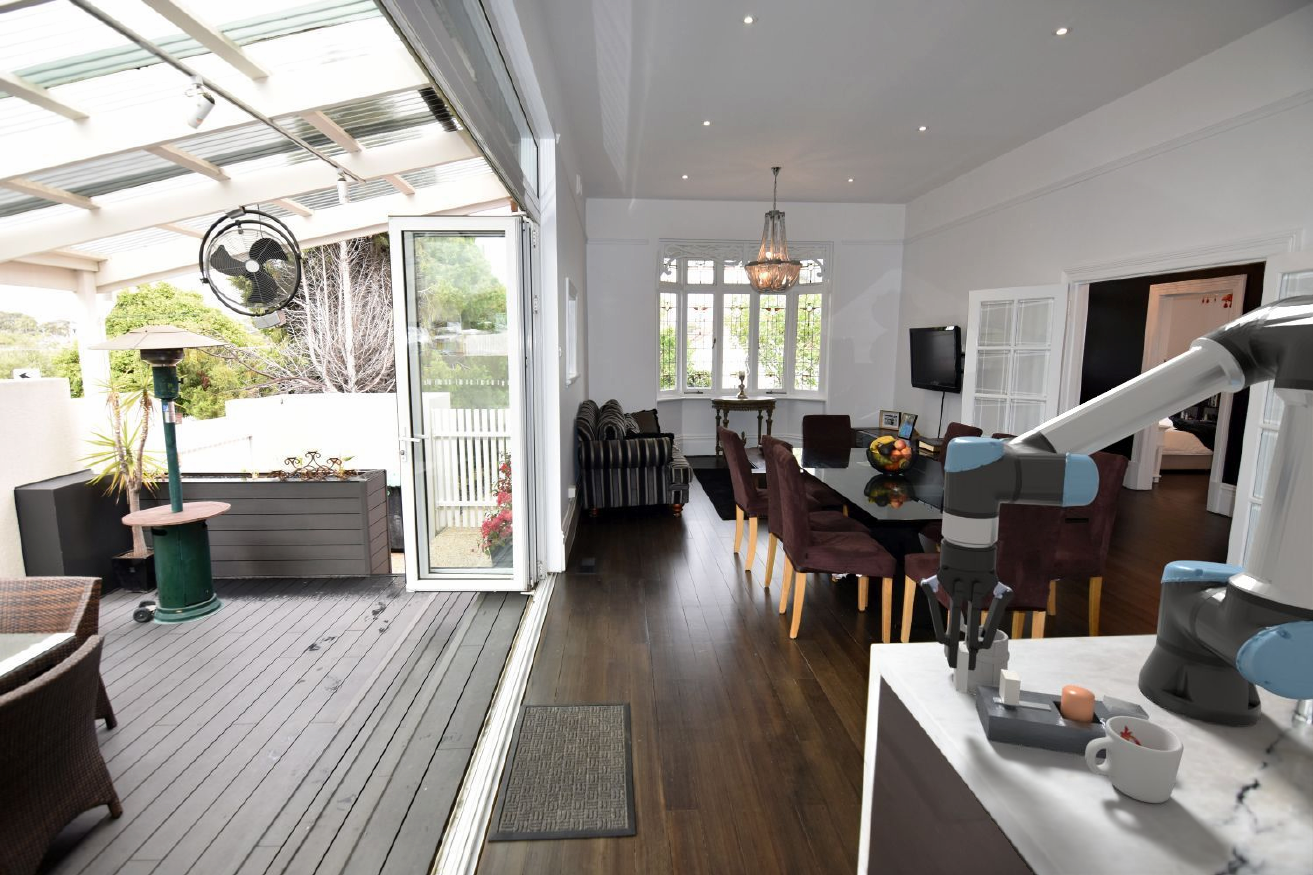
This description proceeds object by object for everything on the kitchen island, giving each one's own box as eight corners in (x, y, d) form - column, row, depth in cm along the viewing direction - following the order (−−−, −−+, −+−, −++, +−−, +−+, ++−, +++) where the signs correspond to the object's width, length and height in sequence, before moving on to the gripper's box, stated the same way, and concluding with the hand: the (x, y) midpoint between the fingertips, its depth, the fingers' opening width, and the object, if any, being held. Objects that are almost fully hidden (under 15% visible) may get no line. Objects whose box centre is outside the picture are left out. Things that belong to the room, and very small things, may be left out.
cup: (1104, 810, 78) (1110, 751, 77) (1065, 768, 85) (1070, 714, 84) (1194, 812, 77) (1201, 753, 76) (1146, 770, 85) (1152, 715, 84)
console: (1128, 729, 94) (1131, 700, 93) (1156, 766, 86) (1160, 735, 85) (975, 707, 100) (977, 680, 100) (987, 740, 92) (989, 710, 91)
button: (1086, 717, 93) (1089, 687, 93) (1096, 732, 89) (1099, 701, 89) (1056, 713, 94) (1058, 683, 94) (1064, 728, 91) (1067, 697, 90)
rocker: (1137, 711, 91) (1139, 705, 91) (1147, 723, 88) (1149, 716, 88) (1102, 701, 92) (1104, 695, 92) (1110, 713, 89) (1112, 706, 89)
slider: (1013, 695, 95) (1015, 670, 95) (1018, 705, 93) (1020, 680, 92) (999, 693, 96) (1000, 669, 95) (1003, 703, 93) (1005, 678, 93)
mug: (989, 704, 101) (994, 634, 99) (928, 671, 112) (932, 608, 110) (1019, 693, 104) (1024, 625, 103) (957, 662, 115) (961, 600, 113)
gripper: (1011, 536, 95) (1000, 681, 98) (919, 530, 99) (912, 669, 102) (1024, 551, 88) (1013, 707, 91) (924, 543, 91) (917, 693, 94)
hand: (959, 687), depth 96 cm, fingers closed
